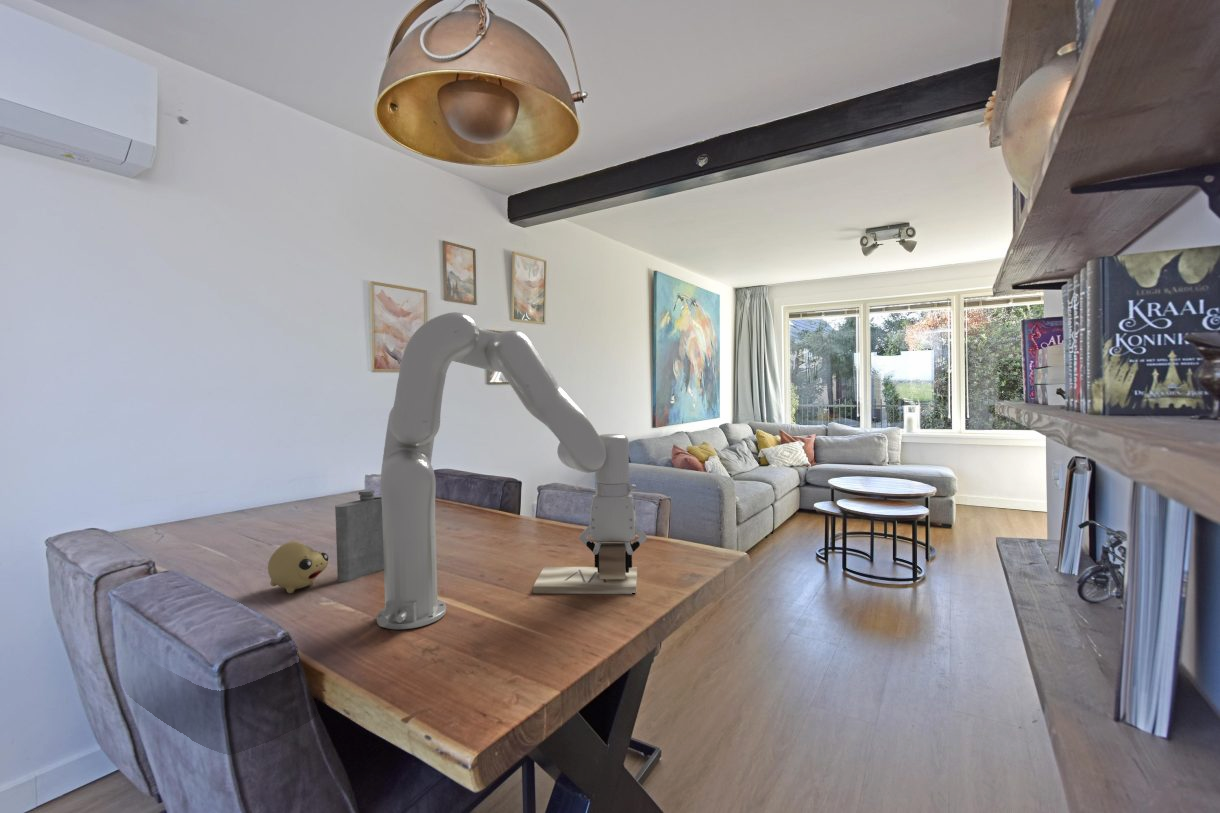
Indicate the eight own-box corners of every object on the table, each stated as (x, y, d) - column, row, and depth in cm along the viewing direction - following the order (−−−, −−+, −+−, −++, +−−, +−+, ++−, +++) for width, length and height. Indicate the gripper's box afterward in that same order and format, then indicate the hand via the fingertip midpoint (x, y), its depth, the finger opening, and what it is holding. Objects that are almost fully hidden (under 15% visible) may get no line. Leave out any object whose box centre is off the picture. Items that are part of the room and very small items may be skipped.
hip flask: (342, 583, 126) (339, 496, 125) (333, 579, 128) (330, 494, 128) (403, 564, 139) (401, 485, 138) (394, 561, 141) (391, 484, 140)
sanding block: (625, 579, 117) (624, 551, 117) (599, 579, 118) (598, 551, 117) (626, 564, 127) (626, 538, 127) (603, 564, 127) (602, 538, 127)
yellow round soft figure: (302, 600, 116) (300, 550, 115) (258, 594, 119) (256, 546, 119) (337, 584, 125) (336, 537, 125) (296, 579, 129) (294, 534, 128)
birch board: (636, 593, 116) (636, 586, 116) (533, 593, 117) (532, 586, 117) (637, 573, 129) (637, 566, 128) (544, 573, 130) (544, 566, 130)
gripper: (651, 486, 125) (652, 565, 125) (576, 487, 126) (577, 565, 127) (651, 492, 117) (652, 576, 118) (571, 493, 119) (572, 576, 119)
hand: (613, 569), depth 122 cm, fingers closed on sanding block, 5 cm apart
